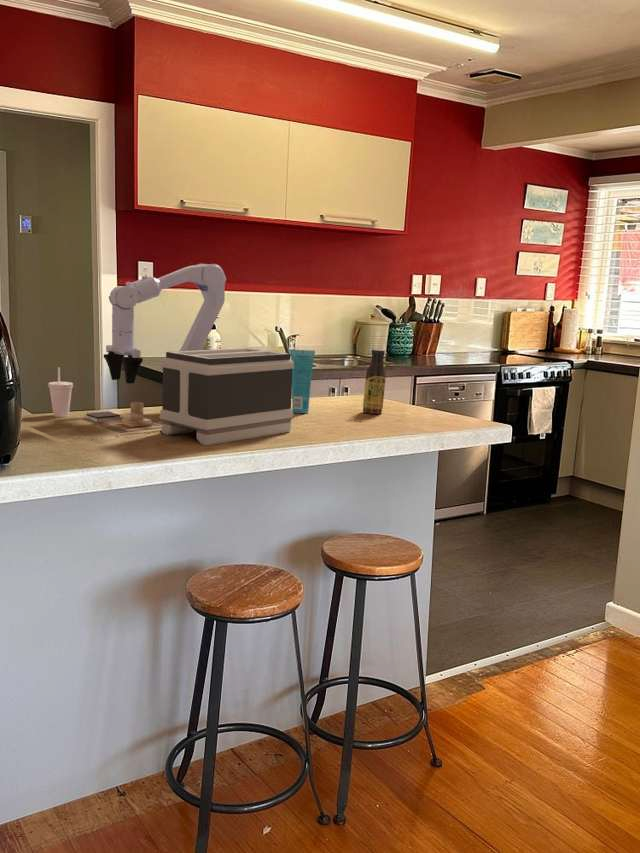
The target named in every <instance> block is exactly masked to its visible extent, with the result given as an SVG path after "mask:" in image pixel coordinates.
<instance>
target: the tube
mask: <svg viewBox="0 0 640 853" xmlns="http://www.w3.org/2000/svg"><path fill="white" fill-rule="evenodd" d="M289 350H290V353H289V354H290V360H292V361H293V362H294V368H293V371H292V395H291V409H292V410H293V412H294V413H293V414H300V413H305V414H308V413H309V408H310V397H311V387H312V386H311V383H312V376H313V367H314V361H315V355H316V350H312V349H311V350H310V349H309V350H306V349H305V350H304V349H289Z"/></svg>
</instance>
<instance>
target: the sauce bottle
mask: <svg viewBox="0 0 640 853" xmlns="http://www.w3.org/2000/svg"><path fill="white" fill-rule="evenodd" d="M385 353H386V352H385V350H384V349H379V348H378V349H377V348H376V349H375V348H373V349H371V361H370V365H369V366H368V368H367V369H366V372H365V373H366V374H365V375H366V376H365V379H364V380H365V384H364V393H363V400H362V412H363V413H365V414H368V415H369V414H371V415H381V414H382V412H383V408H384V399H385V389H386V380H387V379H386V377H387V376H386V368H385V366H384V359H385V358H384V356H385V355H386V354H385Z"/></svg>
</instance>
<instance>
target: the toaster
mask: <svg viewBox="0 0 640 853" xmlns="http://www.w3.org/2000/svg"><path fill="white" fill-rule="evenodd" d="M160 365H161V368H162V409H161V410H160V413H159V420H162V428H161V430H162V431H161V433H162V434H163V435H166V436H173V435H181V434H189V433H193V432H194V433H195V432H196V439H197V441H198V442H199V444H200V445H202V446H206V447H207V446H208V447H209V446H213V445H214V446H215V445H221V444H227V443H233V442H239V441H243V440H244V441H246V440H250V439H256V438H262V437H268V436H269V437H270V436H275V435H280V433H281V434H286V433H285V432H287V433H290V432H291V428H292V419H293V418H294V413H293V410H292V371H293V368H294V362H293V361H292V360H291V354H290V353H288V352H280V351H279V352H278V351H273V350H266V349H265V350H264V349H258V348H252V347H239V348H238V347H237V348H218V349H216V348H215V349H201V350H193V351H179V350H177V351H174V350H173V351H166V352H165V358H163V359H162V360H161V364H160Z"/></svg>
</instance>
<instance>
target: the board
mask: <svg viewBox="0 0 640 853" xmlns="http://www.w3.org/2000/svg"><path fill="white" fill-rule="evenodd" d="M118 414H119V415H120V416H123V419H131V412H129V413H118ZM143 418H146V419H150V420H152V426H149V427H139V428H128V427H125V426H122V420H119V421H110V422H100V423H96V422H93V421H90V420H87V419H84V417H78V418H77V419H79V420H81V421H84V422H87V423H90V424H93V425H96V426H99V427H102V428H104V429H106V430H107V429H108V430H111V431H114V432H116V433H121V434H122V435H121V434H119V437H122V436H124V434H123V433H126V436H130V435H132V436H133V433H132V432H136V433H135V435H139V434H141V432H140V431H145V432H143V434H148V433H149V431H150V430H154V431H151V433H154V432H158V430H159V429H160V432H162V420H160V419H158V418H155V417H151V416H148V415H144V414H143ZM157 429H158V430H157ZM148 430H149V431H148ZM129 432H131V433H129ZM127 433H128V434H127Z"/></svg>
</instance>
